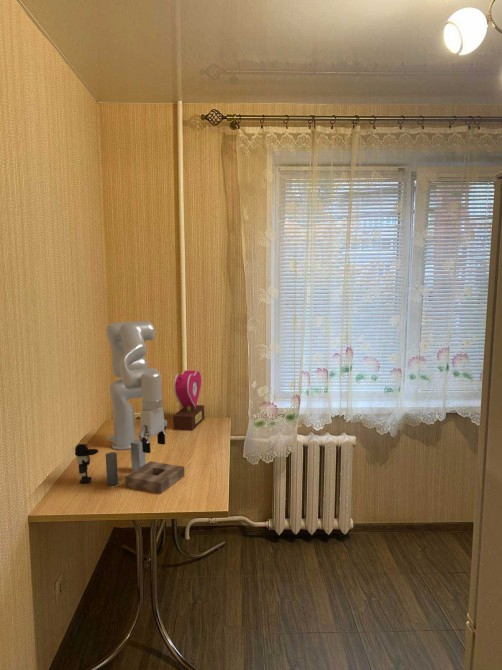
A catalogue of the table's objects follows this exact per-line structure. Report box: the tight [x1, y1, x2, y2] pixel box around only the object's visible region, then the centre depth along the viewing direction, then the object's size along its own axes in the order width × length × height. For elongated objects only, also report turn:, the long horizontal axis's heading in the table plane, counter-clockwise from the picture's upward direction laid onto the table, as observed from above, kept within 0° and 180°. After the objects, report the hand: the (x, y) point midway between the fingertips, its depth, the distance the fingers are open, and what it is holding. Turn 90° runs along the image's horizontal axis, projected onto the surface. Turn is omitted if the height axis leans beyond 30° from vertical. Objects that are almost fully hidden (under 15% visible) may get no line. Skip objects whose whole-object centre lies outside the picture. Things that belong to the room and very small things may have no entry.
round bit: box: [105, 451, 119, 487], centre depth 178 cm, size 4×4×12 cm
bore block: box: [124, 461, 185, 495], centre depth 181 cm, size 16×16×4 cm
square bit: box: [130, 439, 147, 472], centre depth 192 cm, size 4×4×12 cm
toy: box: [74, 443, 99, 484], centre depth 181 cm, size 8×8×15 cm
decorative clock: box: [172, 369, 206, 432], centre depth 250 cm, size 25×10×30 cm, turn 168°
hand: (154, 448), depth 179 cm, fingers open, 9 cm apart
